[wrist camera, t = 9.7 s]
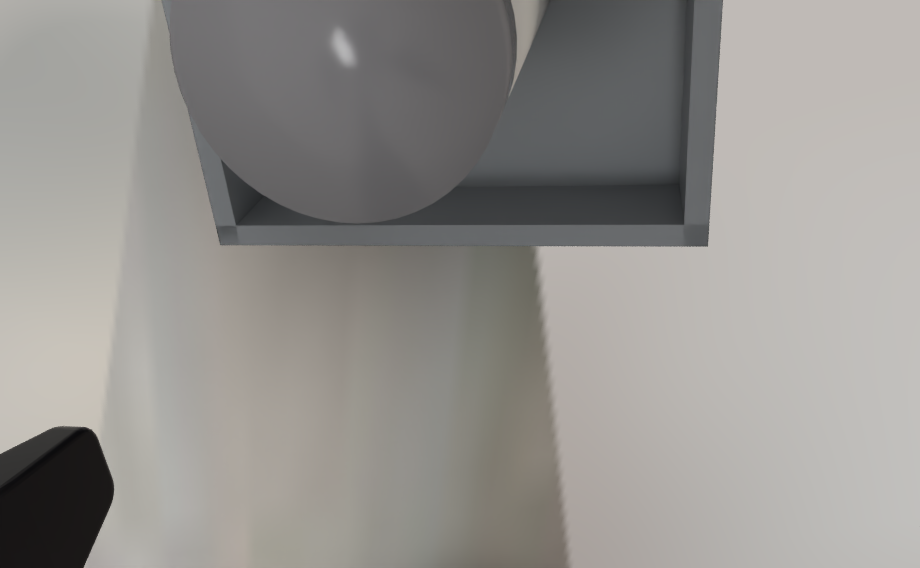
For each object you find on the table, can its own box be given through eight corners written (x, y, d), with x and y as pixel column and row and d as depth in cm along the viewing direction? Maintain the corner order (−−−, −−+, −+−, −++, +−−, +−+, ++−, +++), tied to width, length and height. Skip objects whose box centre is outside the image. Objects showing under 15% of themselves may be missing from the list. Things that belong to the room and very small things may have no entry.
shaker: (558, 71, 19) (515, 222, 12) (358, 79, 20) (211, 224, 13) (551, -163, 17) (494, -144, 10) (327, -142, 18) (130, -112, 11)
